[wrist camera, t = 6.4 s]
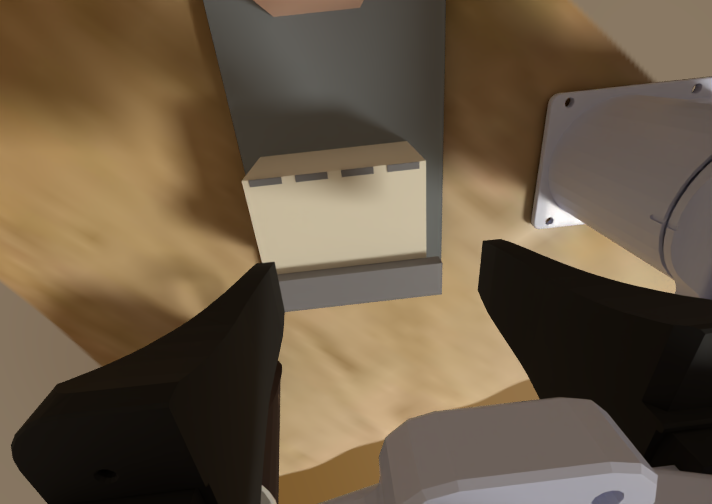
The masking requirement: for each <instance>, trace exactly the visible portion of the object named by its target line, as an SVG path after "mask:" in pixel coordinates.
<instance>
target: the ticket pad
mask: <svg viewBox="0 0 712 504" xmlns="http://www.w3.org/2000/svg"><path fill="white" fill-rule="evenodd" d="M242 184H243V188H244V192H245V196H246V200H247V204H248V208H249V212H250V216H251V220H252V224H253V228H254V232H255V236H256V240H257V244H258V248H259V252H260V256H261V260H262V263H267V262H275V266H276V271H277V276H278V280H279V285H280V290H281V295H282V300H283V305H284V310H285V312H290V311H298V310H307V309H316V308H325V307H334V306H342V305H351V304H360V303H369V302H378V301H386V300H395V299H404V298H413V297H422V296H430V295H439V294H442V262H441V260H440V258H439V256H436V257H427V258H426V160H425V159H424V158H423V157H422V156H421V155H420V154H419V153H418V152H417V151H416V150H415V149H414V148H413V147H412V146H411V145H410V144H409V143H408V142H407V141H402V142H393V143H384V144H375V145H366V146H357V147H347V148H338V149H329V150H320V151H311V152H302V153H293V154H284V155H275V156H265V157H260V158H259V159H258V160H257V162H256V163H255V164H254V166H253V167H252V168H251V170H250V171H249V172H248V173H247V175H246V176H245V177H244V179H243V180H242Z"/></svg>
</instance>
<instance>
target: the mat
mask: <svg viewBox="0 0 712 504" xmlns="http://www.w3.org/2000/svg"><path fill="white" fill-rule="evenodd" d="M203 2H204V6H205V10H206V14H207V19H208V23H209V27H210V31H211V35H212V39H213V43H214V47H215V51H216V56H217V60H218V64H219V68H220V72H221V76H222V80H223V84H224V88H225V93H226V97H227V101H228V105H229V109H230V113H231V117H232V121H233V125H234V130H235V134H236V138H237V142H238V146H239V150H240V154H241V158H242V162H243V167H244V171H245V175H247V173H248V172H249V171H250V170H251V168H252V167H253V166H254V164H255V163H256V162H257V160H258V159H259V158H260V157H265V156H275V155H284V154H293V153H302V152H311V151H320V150H329V149H338V148H347V147H357V146H366V145H375V144H384V143H393V142H402V141H407V142H408V143H409V144H410V145H411V146H412V147H413V148H414V149H415V150H416V151H417V152H418V153H419V154H420V155H421V156H422V157H423V158H424V159H425V160H426V258H427V257H436V256H439V258H440V260H441V240H442V184H443V129H444V73H445V18H446V0H364V1H363V3H362V5H361V7H360V8H353V9H344V10H335V11H325V12H316V13H306V14H297V15H288V16H278V17H273V16H272V15H271V14H269V13H268V12H267V11H266V10H264V9H263V8H262V7H261V6H259V5H258V4H257V3H256V2H255V1H253V0H203Z"/></svg>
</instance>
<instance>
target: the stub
mask: <svg viewBox="0 0 712 504" xmlns="http://www.w3.org/2000/svg"><path fill="white" fill-rule="evenodd" d="M253 1H255V2H256V3H257V4H258V5H259V6H261V7H262V8H263V9H264V10H266V11H267V12H268V13H269V14H271V15H272V16H273V17H278V16H288V15H297V14H306V13H316V12H325V11H335V10H344V9H353V8H360V7H361V5H362V3H363V1H364V0H253Z"/></svg>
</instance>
